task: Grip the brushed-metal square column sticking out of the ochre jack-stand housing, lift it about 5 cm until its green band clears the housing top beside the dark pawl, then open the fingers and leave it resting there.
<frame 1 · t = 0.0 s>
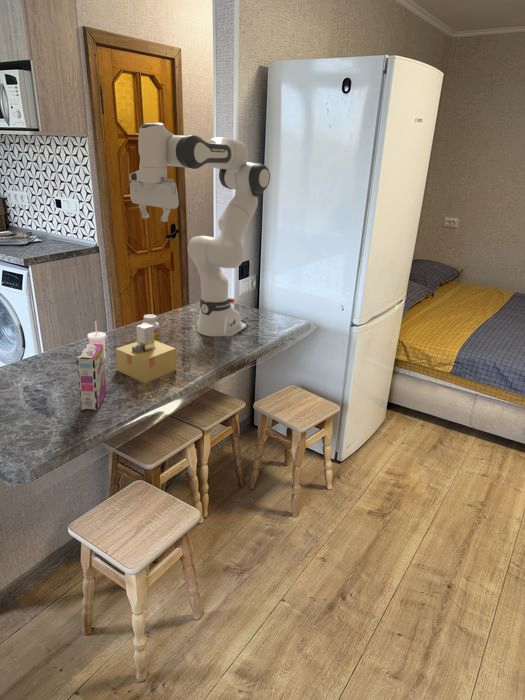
hand: (154, 219, 164), 48 cm above the countertop, fingers open, 8 cm apart
column: (146, 348, 163), point 8 cm above the countertop, slide at 0.0 cm
candy bar box: (94, 402, 144), on the countertop
supplement bottle: (151, 348, 184), on the countertop
beverage cup: (98, 358, 173), on the countertop
housing: (146, 370, 166), on the countertop
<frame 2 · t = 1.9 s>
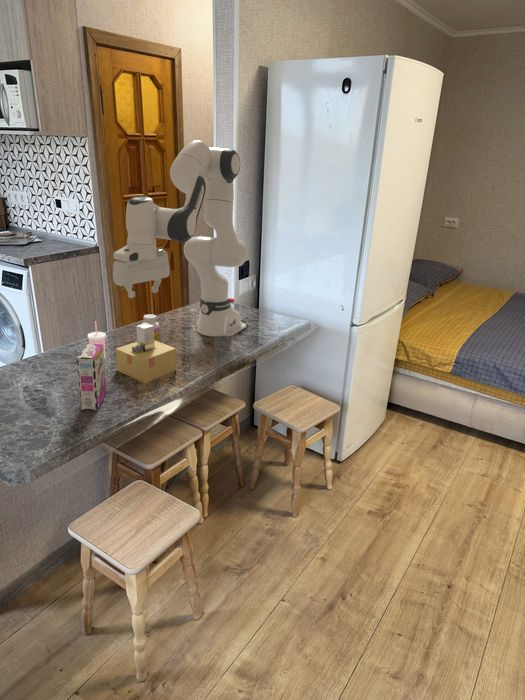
hand: (143, 294, 155), 27 cm above the countertop, fingers open, 8 cm apart
nothing on the countertop moved.
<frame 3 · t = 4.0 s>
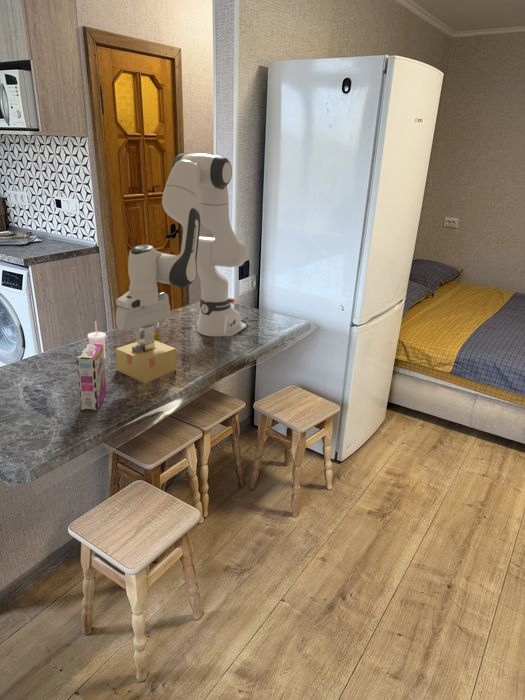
hand: (145, 337, 161), 12 cm above the countertop, fingers closed on column, 4 cm apart
column: (146, 348, 163), point 8 cm above the countertop, slide at 0.0 cm, touching gripper
everything else where it was.
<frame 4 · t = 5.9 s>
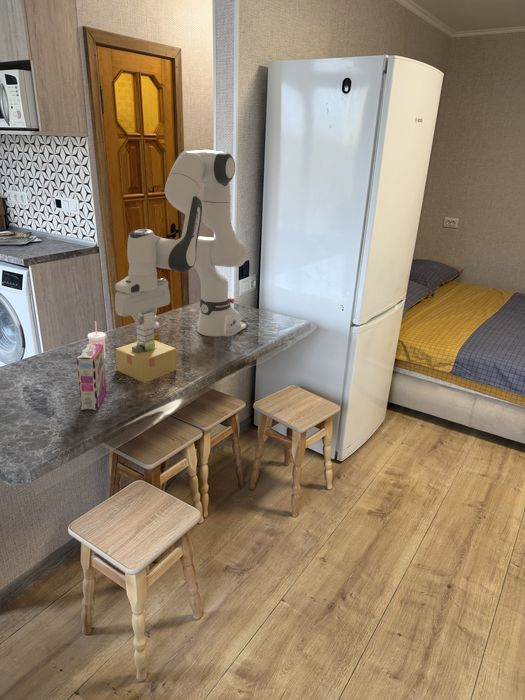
hand: (144, 323, 159), 17 cm above the countertop, fingers closed on column, 4 cm apart
column: (145, 334, 161), point 13 cm above the countertop, slide at 4.9 cm, touching gripper
everything else where it was.
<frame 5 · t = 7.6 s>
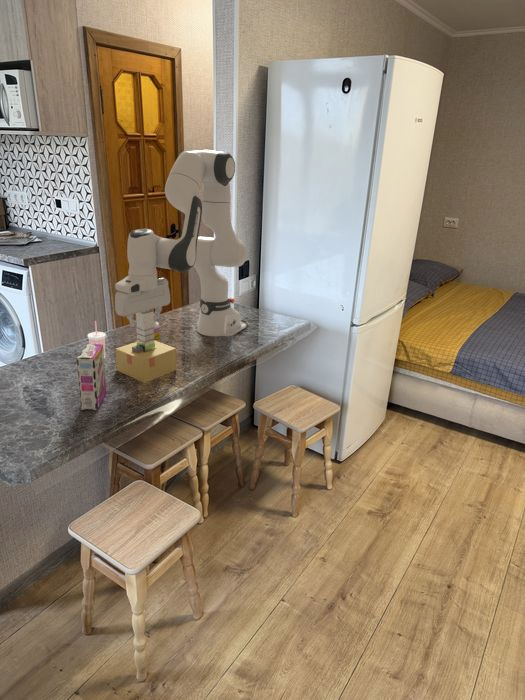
hand: (144, 322, 159), 17 cm above the countertop, fingers open, 8 cm apart
column: (145, 334, 161), point 13 cm above the countertop, slide at 4.9 cm
everything else where it was.
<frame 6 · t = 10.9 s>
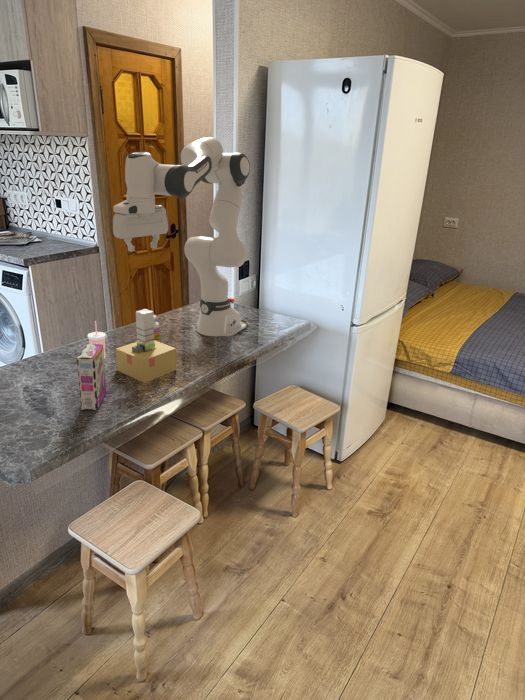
hand: (142, 249, 160), 39 cm above the countertop, fingers open, 8 cm apart
nothing on the countertop moved.
at the end: column slide at 4.9 cm; the gripper is holding nothing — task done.
